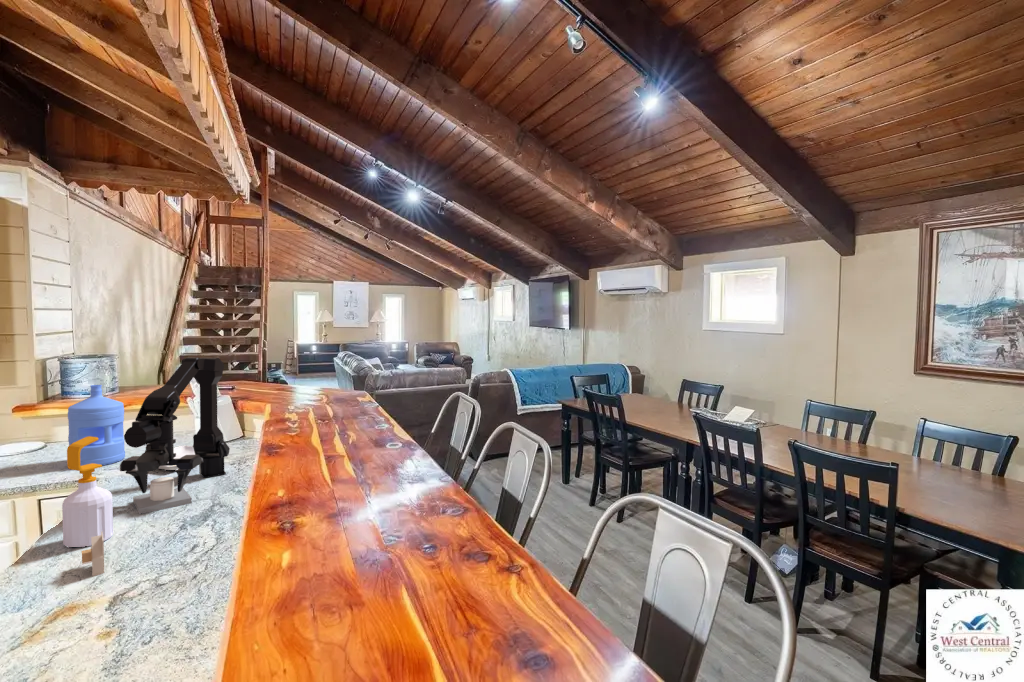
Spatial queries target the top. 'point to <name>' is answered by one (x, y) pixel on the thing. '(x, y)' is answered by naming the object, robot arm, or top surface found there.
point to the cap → (162, 488)
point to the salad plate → (180, 455)
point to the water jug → (98, 428)
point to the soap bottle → (86, 503)
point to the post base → (161, 501)
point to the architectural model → (95, 555)
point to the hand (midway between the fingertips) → (162, 492)
